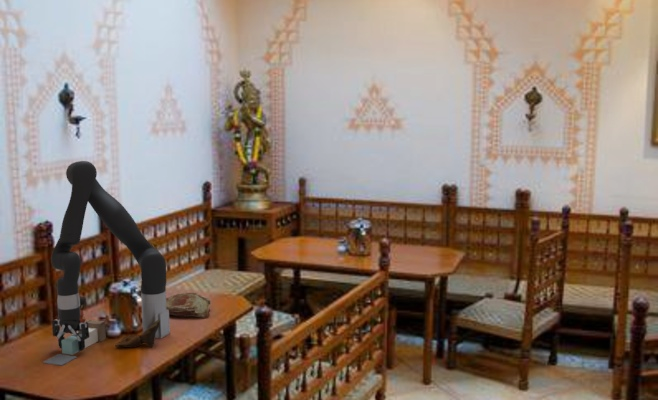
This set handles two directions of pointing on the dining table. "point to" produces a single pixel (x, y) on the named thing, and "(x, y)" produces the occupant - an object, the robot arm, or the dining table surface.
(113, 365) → the dining table surface
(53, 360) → the pad
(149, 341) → the dark brown curved piece
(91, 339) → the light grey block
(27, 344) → the dining table surface
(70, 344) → the pale teal block
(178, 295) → the stone
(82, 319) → the figurine
